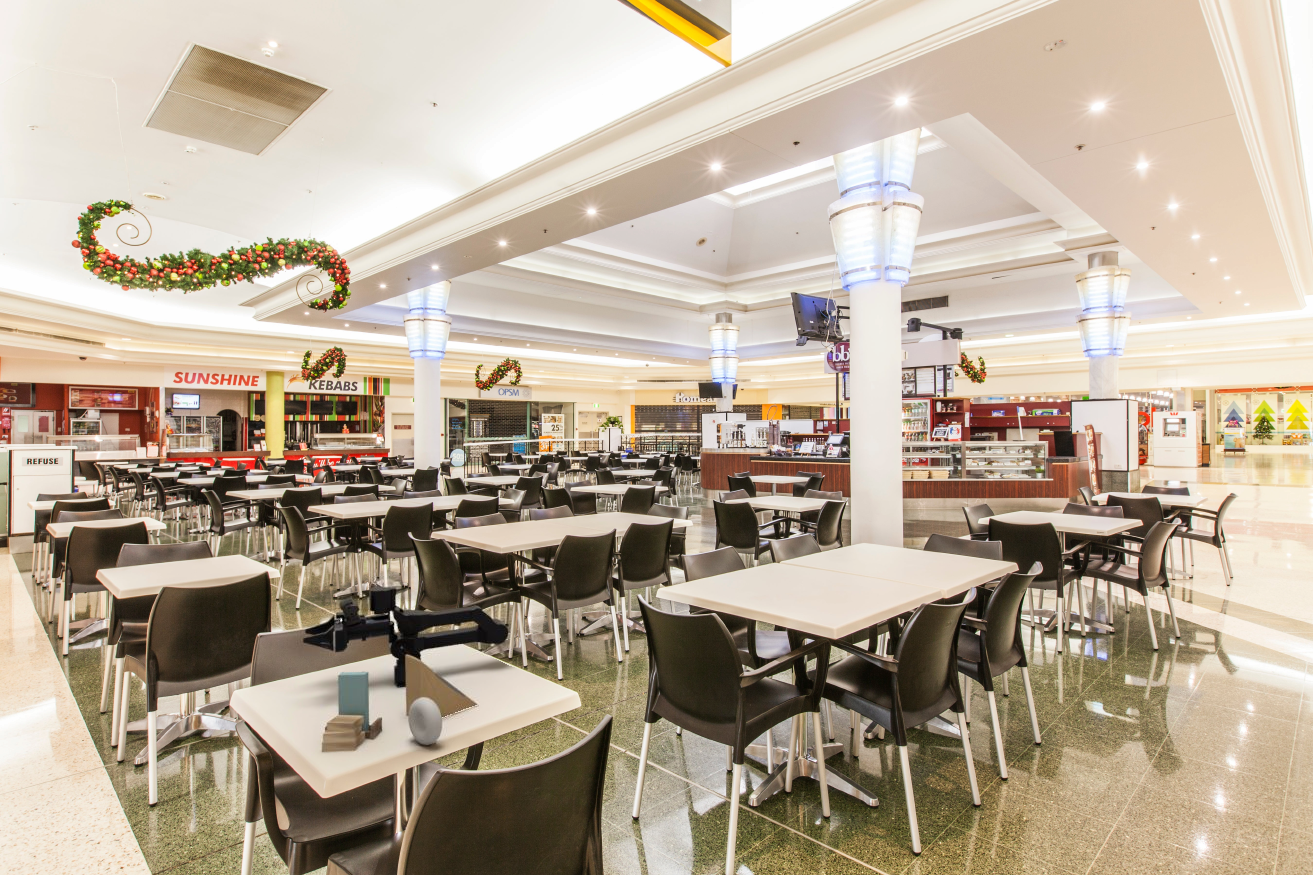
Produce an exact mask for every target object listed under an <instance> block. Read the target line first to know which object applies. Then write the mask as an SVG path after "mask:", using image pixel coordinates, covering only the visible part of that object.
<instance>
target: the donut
mask: <svg viewBox="0 0 1313 875" xmlns="http://www.w3.org/2000/svg"><path fill="white" fill-rule="evenodd" d="M407 718H408V726H409V730H410V732H411V734H412V737H413V738H414V739H415V741H417V742H418V743H419V744H421V745H424V744H425V746H426V745H427V744H430V745H431V744H435V742H437V740H438V739H439V738H440V736H441V734H442V730H443V718H442V716H441V713H440V710H439V708H438V706H437V705H436V704H435V702H434V701H433V700H431V699H429V698H426V697H421V698H419V699H417V700H415V701H414V702H413V704H412V705H411V707H410V710H409V715H408V716H407ZM427 746H428V745H427Z"/></svg>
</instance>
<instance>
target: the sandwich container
mask: <svg viewBox="0 0 1313 875" xmlns="http://www.w3.org/2000/svg"><path fill="white" fill-rule="evenodd" d="M405 666H406V686H405V702H406V704H405V709H406V711H405V712H406V713H405V714H406V716H407V717H408V715H409V710H410V707H411V705H412V704H413V702H414V701H415V700H417V699H419V698H421V697H426V698H429V699H431V700H433V701H434V702H435V704H436V705H437V706H438V708H439V710H440V713H441V716H442V717H445V716H447V715H450V714H453V713H455V712H458V711H461V710H463V709H466V708H469V707H472V706H475V705H477V704H478V703H477V702H476V701H474V700H473V699H471V698H470V697H469V696H467V695H466V694H465V693H464V692H463V691H461V690H460V689H458V688H457V687H455V686H454V685H453V684H452V683H450V682H449V681H448V680H446V679H445V678H444V677H442V676H441V675H440V674H438V672H436V671H434V670H433V669H432V668H431V667H430V666H428V665H427V664H426V663H424V662H423V661H422V660H421V661H420V660H419V659H417V658H415V657H413V656H410V655H407V654H406V656H405ZM445 718H446V717H445Z"/></svg>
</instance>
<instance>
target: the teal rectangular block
mask: <svg viewBox="0 0 1313 875" xmlns="http://www.w3.org/2000/svg"><path fill="white" fill-rule="evenodd" d="M369 676H370V675H369V671H353V672H352V671H351V672H350V671H349V672H345V671H344V672H340V673H339V674H338V675H337V680H338V681H337V684H338V686H337V690H338V691H337V692H338V694H337V695H338V696H337V697H338V698H337V699H338V701H337V702H338V703H337V704H338V705H337V706H338V715H357V716H364V724H363V725H362V731H369V725H370V702H369V701H370V697H369V696H370V691H369V690H370V686H369V685H370V684H369V683H370V682H369V680H370V679H369Z"/></svg>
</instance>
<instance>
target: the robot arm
mask: <svg viewBox="0 0 1313 875" xmlns="http://www.w3.org/2000/svg"><path fill="white" fill-rule="evenodd" d="M368 591H369V594H368V595H369V611H370V612H373V615H371V616H366V615H365V614H360V613H359V611H360V606H359V604H358V603H355V602H354V599H353V597H352V596H350V597H347V598H345V599H344V600H341V601H339V608H340V610H341V611H339V612H336V613H335V614H332V615H331V617H330V618H329V619H328V620H327V621H326V622H322V623H320V624H316V625H314V626H310V627H308V628H306V629H305V630H304V634H306V635H308V636H306V637H303V639H302V643H303V644H308V645H311V646H315V647H319V648H323V649H325V650H329V651H331V652H334V651H335V652H334V653H341V652H345V650H346V649H347V648H348V644H349V643H350V641H351V642H352V641H359V640H361V642H366V641H367V639H372V638H373V639H374V638H379V637H381V638H382V637H387V642H388V646H389V651H390V655H392V657H393V658H395V665H393V682H394V683H395V684H396V688H400V687H406V666H405V656H406V654H407V655H410V656H413V657H415V658H417V659H419V660H420V661H422V658H421V657H422V653H421V652H423V651H425V650H431V649H438V648H439V649H440V648H444V647H445V648H446V647H450V646H451V647H453V646H458V645H459V646H460V645H465V644H471V643H480V644H488V645H500V644H503V643H504V642H505V641H506V640H507V639H508V637H509V628H508V627H507V625H505V623H503V621H501V619H498V618H493V617H491V616H490V615H489V614H487V613H486V612H485V611H484V610H483V609H482V608H481V607H480V606H478V605H472V606H465V607H458V608H449V609H442V610H434V611H426V610H419V609H405V610H404V609H403V608H401V607H399V606H398V605H397V604H396V603H397V602H396V601H397V600H396V599H397V598H396V597H397V596H396V595H397V587H394V586H393V587H390V586H389V587H388V586H376V587H372V588H370V589H369V590H368ZM391 613H392V616H393V619H394V620H395V621H394V620H391ZM471 622H473V623H475V624H476V625H475V626H469V627H464V628H457V629H449V630H443V631H442V630H441V631H434V632H430V633H429V632H427V633H422V632H423V631H425V630H428V629H430V628H431V629H432V628H435V627H440V626H441V627H442V626H451V625H457V624H463V623H471ZM395 623H396V627H397V630H398V632H395ZM309 635H310V636H309Z"/></svg>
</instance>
